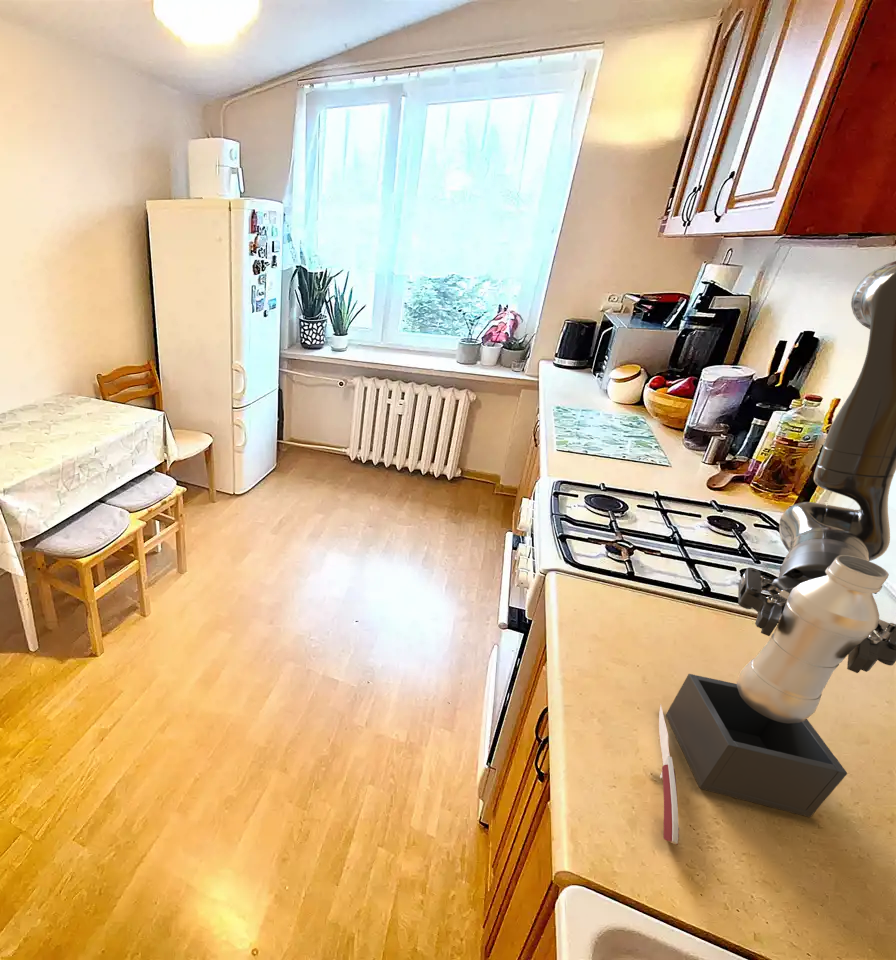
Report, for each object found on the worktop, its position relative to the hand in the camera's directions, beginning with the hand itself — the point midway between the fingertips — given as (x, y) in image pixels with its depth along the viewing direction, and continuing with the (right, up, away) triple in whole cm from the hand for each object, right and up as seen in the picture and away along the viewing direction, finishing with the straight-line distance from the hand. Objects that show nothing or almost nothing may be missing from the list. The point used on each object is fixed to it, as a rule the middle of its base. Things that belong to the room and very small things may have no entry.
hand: (812, 645), depth 53 cm
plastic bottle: (+2, -9, +7) cm, 11 cm away
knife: (-9, -18, +9) cm, 22 cm away
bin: (+1, -18, +10) cm, 21 cm away
